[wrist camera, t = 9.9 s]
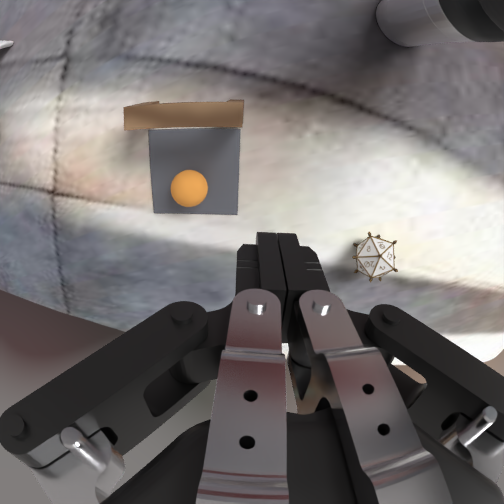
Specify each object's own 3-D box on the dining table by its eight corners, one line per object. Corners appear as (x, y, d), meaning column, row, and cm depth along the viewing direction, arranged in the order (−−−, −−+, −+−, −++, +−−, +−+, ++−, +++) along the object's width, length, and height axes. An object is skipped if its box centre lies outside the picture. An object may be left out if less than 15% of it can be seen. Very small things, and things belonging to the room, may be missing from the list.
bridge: (146, 102, 39) (123, 107, 31) (243, 99, 39) (243, 102, 31) (147, 120, 40) (124, 130, 32) (242, 119, 41) (242, 127, 33)
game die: (357, 244, 57) (346, 289, 52) (354, 216, 50) (342, 265, 46) (401, 250, 52) (394, 297, 48) (403, 222, 46) (397, 273, 41)
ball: (167, 168, 40) (164, 207, 41) (205, 171, 40) (201, 211, 41) (178, 168, 45) (175, 202, 47) (212, 171, 45) (208, 206, 47)
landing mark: (149, 130, 41) (148, 130, 41) (240, 129, 42) (240, 129, 41) (154, 212, 48) (154, 213, 48) (237, 214, 49) (237, 214, 49)
